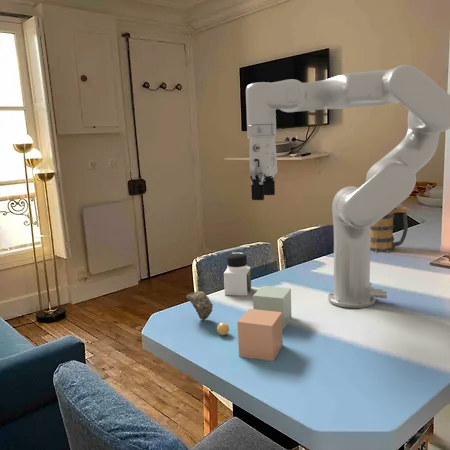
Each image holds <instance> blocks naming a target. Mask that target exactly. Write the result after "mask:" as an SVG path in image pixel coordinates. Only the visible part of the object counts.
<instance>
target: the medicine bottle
mask: <svg viewBox="0 0 450 450" xmlns="http://www.w3.org/2000/svg"><path fill="white" fill-rule="evenodd" d="M247 256H248V255H247V254H245V253H243V252H231V253H229V254H227V255H226V265H227V266H226V267H227V268H226V269H225V271H224V272H223V285H224V287H223V288H224V296H235V297H236V296H237V297H239V296H240V297H241V296H242V297H244V296H245V297H246V296H249V293H250V291H251V290H252V275H251V274H252V273H251V269H252V268H251V266H248V259H247Z"/></svg>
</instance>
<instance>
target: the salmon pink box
mask: <svg viewBox="0 0 450 450" xmlns="http://www.w3.org/2000/svg"><path fill="white" fill-rule="evenodd" d="M237 341H238V342H237V343H238V344H237V345H238V357H241V358H247V359H248V358H249V359H253V360H263V361H268V362H274V361H275V359H276V357H277V355H278V354H279V352H280V350H281V348H282V347H283V345H284V344H283V329H282V312H275V311H266V310H256V309H253V308H249V309H248V310H247V311H245V313H244V314H243V315H242V316H241V317H240V318H239V320H238V321H237Z"/></svg>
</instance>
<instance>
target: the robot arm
mask: <svg viewBox="0 0 450 450" xmlns="http://www.w3.org/2000/svg"><path fill="white" fill-rule="evenodd" d="M245 104H246V105H245V106H246V109H245V110H246V132H247V133H246V135H247V139H249V173H250V176H249V177H250V185H251V186H250V187H251V188H250V189H251V191H250V192H251V201H264V200H265V196H274V195H275V194H276V186H275V185H276V184H275V181H276V179H275V175H276V174H277V173H278V158H277V156H278V155H277V147H276V146H277V145H276V137H277V118H276V117H277V113H276V110H280V111H281V112H285V113H295V112H296V113H297V112H307V111H318V110H319V111H320V110H342V109H351V108H352V109H353V108H361V107H362V108H363V107H375V106H377V107H379V106H388V105H396V104H401V105H402V106H403V107H404V108H405V109H406V110H407V111H408V114H407V131H406V135H405V136H404V138H403V139H402V140H401V141H400V143H399V144H397V145H396V146H395V147H394V148H392V150H391V151H389V152H388V153H387V154H386V155H384V156H383V157H382V158H381V159H379V160H378V161H377V162H376V163H374V164H373V165H372V166H370V168H369V170H368V171H367V173H366V176H365V182H364V183H363V184H361V186H359V187H357V186H352V185H350V186H345V187H343V188H341V189H340V190H339V191H337V192H336V194H335V195H334V197H333V200H332V206H331V213H332V222H333V223H332V224H333V290H332V291H331V292H330V293H328V296H327V299H328V301H329V302H330V303H331V304H333V305H335V306H338V307H342V308H347V309H363V308H367V307H370V306H372V305H375V304H376V298H380V299H387V298H388V291H386V290H384V288H374V287H373V285H372V282H370V281H371V280H370V278H371V276H370V275H371V251H370V242H371V238H370V226H372V225H373V224H375V223H376V222H378V221H379V220H380V219H382V218H383V217H384V216H385V215H387V214H388V213H389V212H390V211H392V210H393V209H395V207H396V208H398V206H399V205H400V204H401V203H403V202H404V201H405V200H407V198H408V197H410V195H411V194H412V192H413V191H414V189H415V187H416V185H417V184H416V183H417V176H416V175H417V172H419V171H420V170H421V169H422V168H423V167H424V166H425V165H427V164H428V163H429V161H431V159H432V158H433V157H434V156H435V154H436V151H437V149H438V146H439V140H440V133H442V132H447V131H448V130H450V93H448V92H447V91H446V90H445V89H443V88H442V87H441V86H440V85H439V84H437V83H436V82H435V81H434V80H433V79H432V78H431V77H429V76H428V75H427V74H426V73H424V72H423V71H421V70H420V69H418V68H417V67H415V66H413V65H411V64H410V65H409V64H401V65H398V66H396V67H394V68H392V69H385V70H384V69H382V70H371V71H359V72H349V73H343V74H338V75H335V76H333V77H330V78H327V79H323V80H315V81H309V82H302V81H300V80H298V79H295V78H294V79H293V78H291V79H284V80H283V79H282V80H278V81H274V82H269V81H267V82H265V81H261V82H260V81H259V82H252V83H250V84H248V85H247V86H246V88H245Z"/></svg>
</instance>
